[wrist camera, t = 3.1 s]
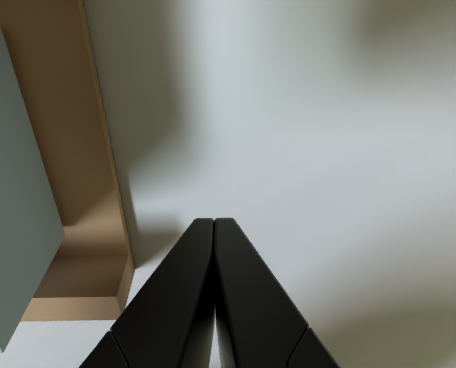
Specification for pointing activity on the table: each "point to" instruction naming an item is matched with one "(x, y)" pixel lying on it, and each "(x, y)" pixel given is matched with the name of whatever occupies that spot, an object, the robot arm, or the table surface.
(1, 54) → the grey box
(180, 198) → the table surface
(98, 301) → the brown tray
